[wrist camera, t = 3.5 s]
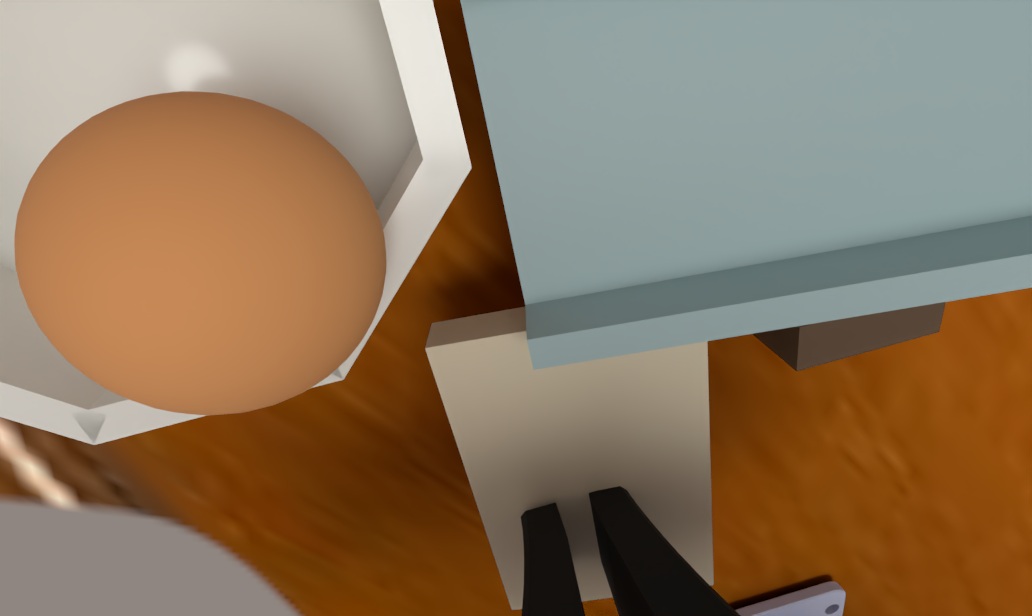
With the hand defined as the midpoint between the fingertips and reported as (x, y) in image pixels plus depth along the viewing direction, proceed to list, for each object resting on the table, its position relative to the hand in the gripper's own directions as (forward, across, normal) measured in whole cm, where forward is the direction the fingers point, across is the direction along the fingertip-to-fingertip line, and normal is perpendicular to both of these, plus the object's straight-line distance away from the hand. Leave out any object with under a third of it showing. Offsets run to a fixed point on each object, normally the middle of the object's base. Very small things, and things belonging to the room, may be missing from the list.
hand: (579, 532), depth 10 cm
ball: (-1, +3, -7) cm, 8 cm away
